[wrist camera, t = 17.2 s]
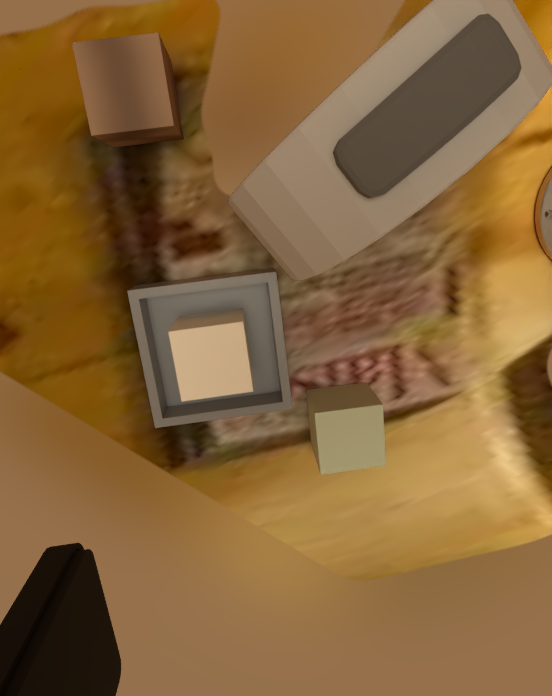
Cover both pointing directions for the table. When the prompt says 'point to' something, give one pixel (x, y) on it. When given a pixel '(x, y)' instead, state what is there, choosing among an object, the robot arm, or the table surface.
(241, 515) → the table surface
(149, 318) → the grey tray
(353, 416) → the sage block
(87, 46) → the walnut block
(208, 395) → the cream block
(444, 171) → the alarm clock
